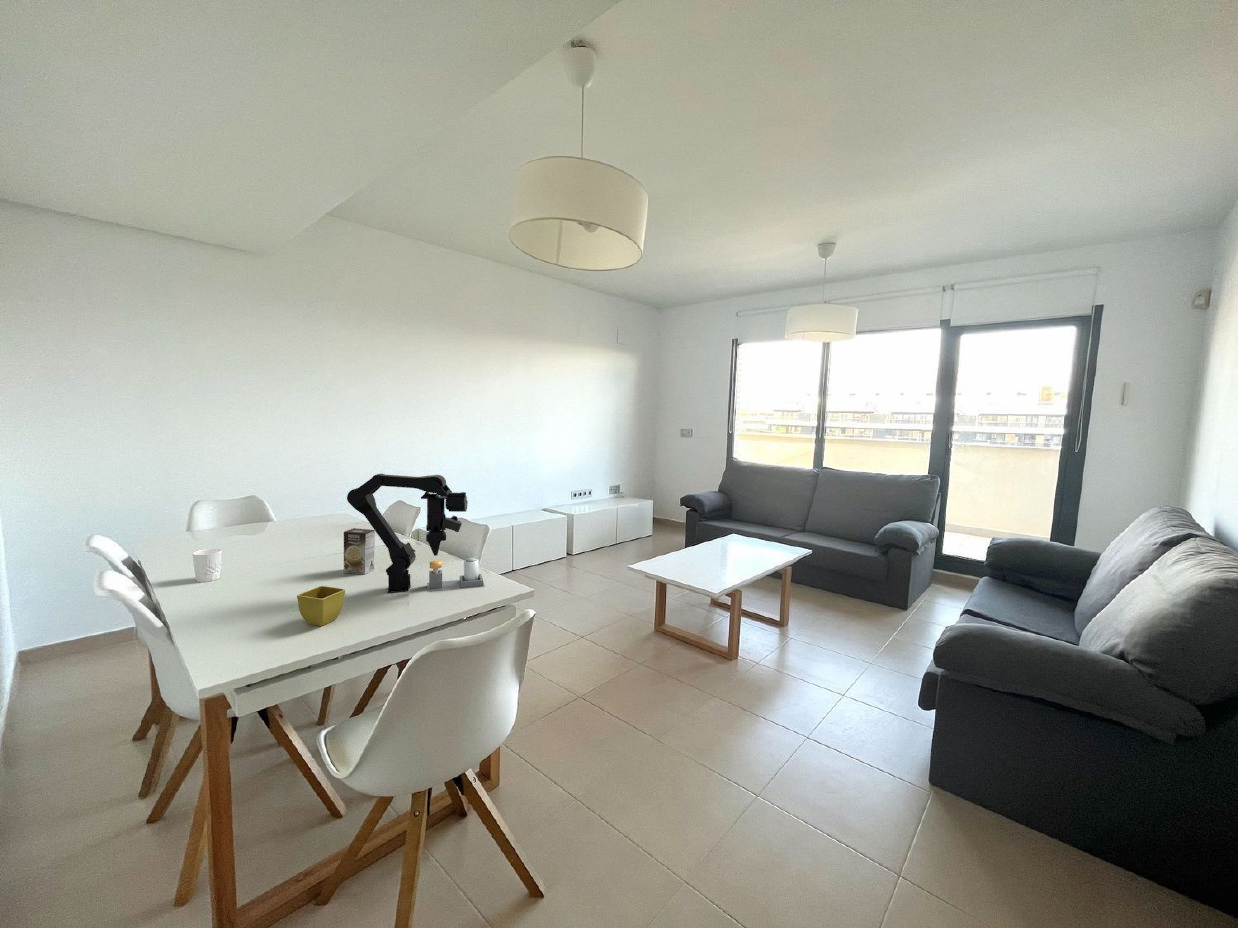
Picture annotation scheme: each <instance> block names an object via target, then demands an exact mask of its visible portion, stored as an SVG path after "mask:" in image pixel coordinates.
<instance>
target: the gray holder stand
mask: <svg viewBox="0 0 1238 928" xmlns="http://www.w3.org/2000/svg"><path fill="white" fill-rule="evenodd" d="M428 571H429V572H428V575H429V577H428V578H429V579H428V582H427V583H426V584H427V587H426V588H427V590H426V591H427V593H435V592H443V591H444V592H445V591H455V590H456V591H457V590H465V589H477V588H486V586H485V583H484V579H483V576H482V575H483V574H482V573H478V580H473V581H464V574H462V575H459V579H455V580H453V579H452V580H443V570H442V569H438V573H433V570H428Z"/></svg>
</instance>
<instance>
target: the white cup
mask: <svg viewBox="0 0 1238 928" xmlns="http://www.w3.org/2000/svg"><path fill="white" fill-rule="evenodd" d="M192 560H193V568H194V575H195V581H196V582H198V583H208V582H213V581H217V580H219V578H220V579H221V577H222V565H223V563H222V562H223V550H222V549H220V548H209V549H208V548H206V549H201V550H197V551H194V552H192Z"/></svg>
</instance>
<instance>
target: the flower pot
mask: <svg viewBox="0 0 1238 928" xmlns="http://www.w3.org/2000/svg"><path fill="white" fill-rule="evenodd" d="M345 595H346V589H345V588H340V587H333V586H328V585H327V586H326V585H320V586H317V587H315V588H312V589H309V590H307V591H305V592H301V593H299V594H297V595H296V598H297V605H298V606H297V607H298V611H299V613H300V616H301V618H302V619H303V621H304V622H306V623H307V625H313V626H319V627H323V626H325V625H327V624H330V623H331V622H334V621H335V620H336V619H338V616H339V615H340V614H341V611H342V609H343V608H344V607H343V606H344V604H345V603H344V602H345Z"/></svg>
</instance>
